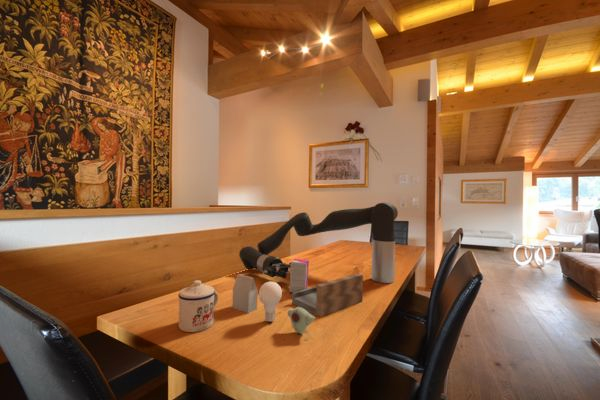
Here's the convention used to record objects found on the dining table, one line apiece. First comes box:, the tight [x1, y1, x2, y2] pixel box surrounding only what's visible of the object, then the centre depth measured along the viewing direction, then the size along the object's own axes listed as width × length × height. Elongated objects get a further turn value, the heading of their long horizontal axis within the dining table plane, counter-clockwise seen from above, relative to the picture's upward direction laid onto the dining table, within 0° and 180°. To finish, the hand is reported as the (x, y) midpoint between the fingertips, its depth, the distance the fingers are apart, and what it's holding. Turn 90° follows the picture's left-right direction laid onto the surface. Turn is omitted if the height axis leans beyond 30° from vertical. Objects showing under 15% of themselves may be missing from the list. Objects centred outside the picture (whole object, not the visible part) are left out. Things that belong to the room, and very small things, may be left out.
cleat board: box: [291, 273, 364, 318], centre depth 90 cm, size 20×13×9 cm, turn 131°
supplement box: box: [289, 258, 310, 295], centre depth 99 cm, size 6×6×12 cm
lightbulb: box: [258, 281, 283, 323], centre depth 75 cm, size 6×6×11 cm
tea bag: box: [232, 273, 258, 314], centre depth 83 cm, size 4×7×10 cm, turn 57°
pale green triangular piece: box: [287, 306, 317, 334], centre depth 69 cm, size 8×4×7 cm, turn 56°
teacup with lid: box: [177, 279, 219, 333], centre depth 73 cm, size 12×9×12 cm
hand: (294, 273), depth 101 cm, fingers open, 8 cm apart
